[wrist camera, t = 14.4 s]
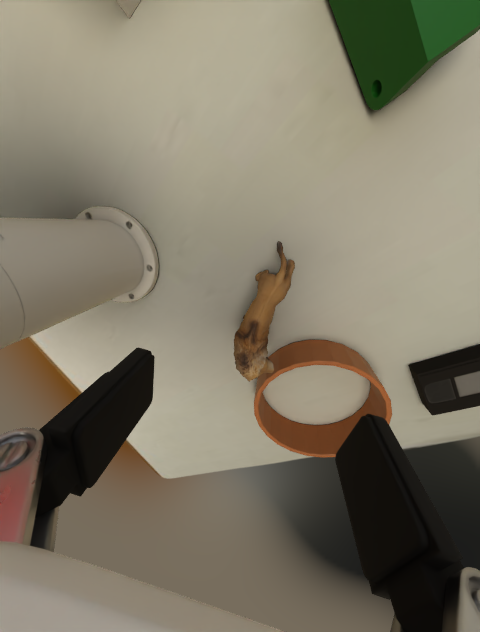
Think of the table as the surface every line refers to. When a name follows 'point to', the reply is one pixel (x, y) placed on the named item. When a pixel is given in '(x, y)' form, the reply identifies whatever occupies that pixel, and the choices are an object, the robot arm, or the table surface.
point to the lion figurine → (261, 320)
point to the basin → (317, 436)
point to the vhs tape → (449, 381)
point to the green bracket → (400, 40)
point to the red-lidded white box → (128, 6)
